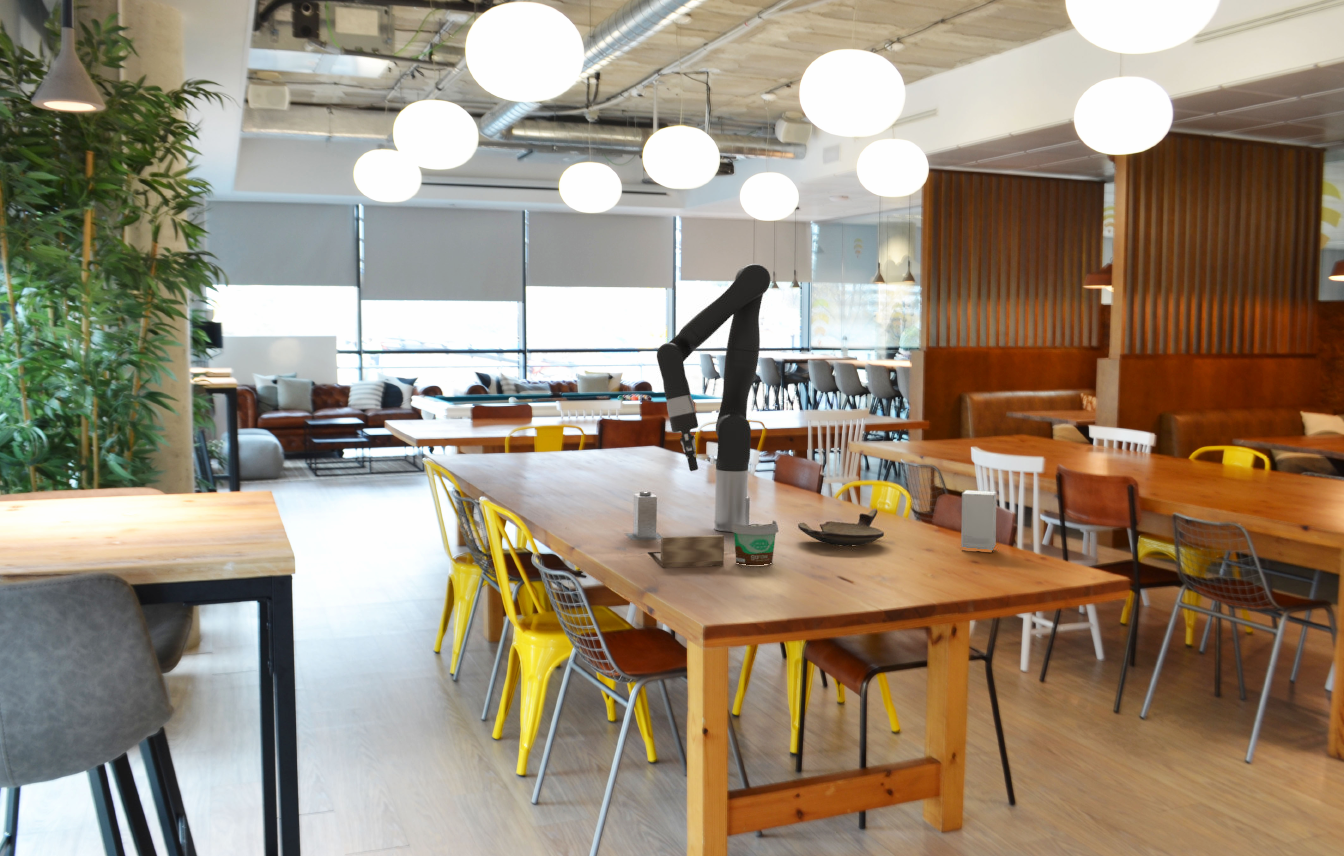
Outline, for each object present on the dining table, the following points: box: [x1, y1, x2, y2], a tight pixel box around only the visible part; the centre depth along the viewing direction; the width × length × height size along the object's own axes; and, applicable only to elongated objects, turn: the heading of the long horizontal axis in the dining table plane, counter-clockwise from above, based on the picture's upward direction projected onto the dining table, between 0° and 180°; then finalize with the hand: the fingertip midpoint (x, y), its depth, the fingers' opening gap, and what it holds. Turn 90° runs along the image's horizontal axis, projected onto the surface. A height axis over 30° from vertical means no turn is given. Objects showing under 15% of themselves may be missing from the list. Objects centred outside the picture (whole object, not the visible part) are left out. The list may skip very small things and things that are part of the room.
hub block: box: [632, 491, 658, 539], centre depth 278 cm, size 5×6×12 cm
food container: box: [732, 520, 779, 565], centre depth 254 cm, size 12×6×10 cm, turn 117°
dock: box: [647, 534, 725, 568], centre depth 259 cm, size 15×19×7 cm
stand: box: [624, 532, 663, 541], centre depth 279 cm, size 9×9×2 cm
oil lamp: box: [797, 508, 885, 547], centre depth 282 cm, size 22×30×8 cm
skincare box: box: [960, 489, 997, 550], centre depth 276 cm, size 8×7×16 cm
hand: (694, 470), depth 292 cm, fingers open, 8 cm apart
